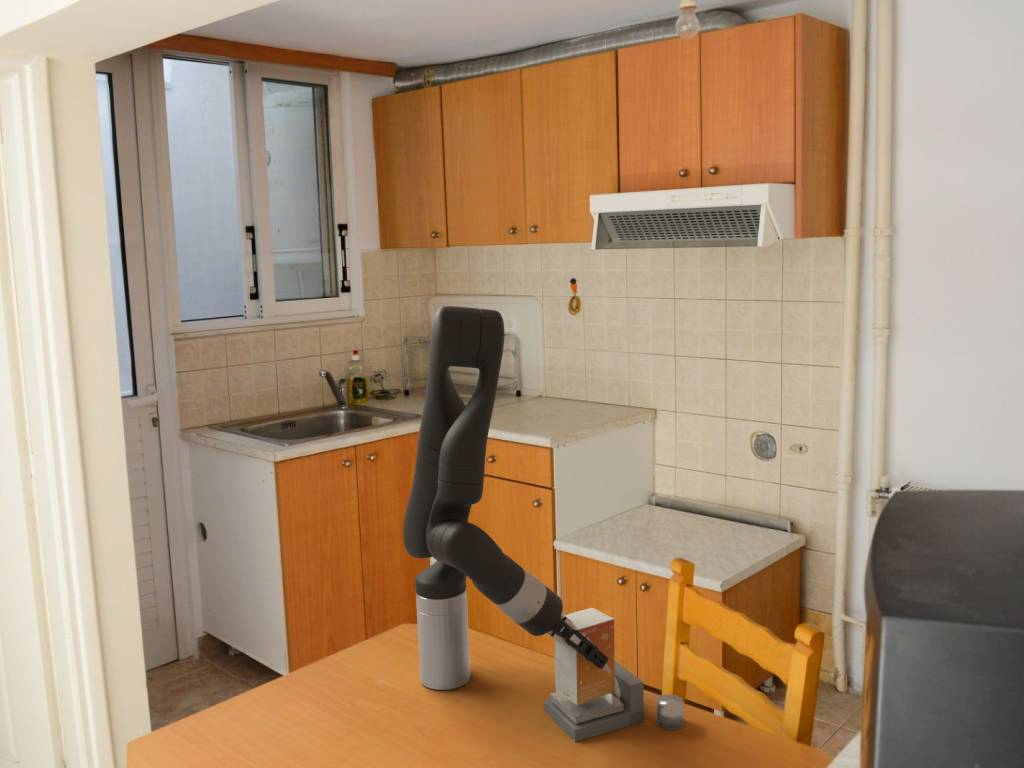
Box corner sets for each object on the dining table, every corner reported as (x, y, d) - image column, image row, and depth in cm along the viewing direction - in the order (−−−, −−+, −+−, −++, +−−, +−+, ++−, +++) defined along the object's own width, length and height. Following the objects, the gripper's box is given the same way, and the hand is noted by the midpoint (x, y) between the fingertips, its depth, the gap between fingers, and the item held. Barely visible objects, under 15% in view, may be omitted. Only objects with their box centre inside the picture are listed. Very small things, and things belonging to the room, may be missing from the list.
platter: (550, 699, 160) (550, 693, 159) (596, 687, 163) (596, 681, 163) (575, 723, 152) (575, 717, 151) (623, 710, 155) (623, 703, 155)
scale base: (544, 711, 161) (542, 673, 159) (609, 693, 166) (608, 656, 165) (575, 741, 151) (573, 701, 150) (643, 721, 156) (643, 682, 155)
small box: (577, 706, 152) (575, 630, 150) (554, 691, 157) (552, 617, 155) (616, 692, 156) (615, 618, 154) (592, 678, 162) (591, 606, 160)
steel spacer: (651, 720, 156) (651, 698, 156) (673, 714, 158) (673, 692, 157) (666, 733, 152) (666, 710, 152) (689, 726, 154) (688, 703, 154)
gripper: (562, 597, 144) (629, 652, 151) (522, 568, 157) (585, 621, 164) (532, 636, 143) (601, 691, 150) (494, 604, 156) (558, 656, 162)
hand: (592, 654), depth 157 cm, fingers closed on small box, 7 cm apart
